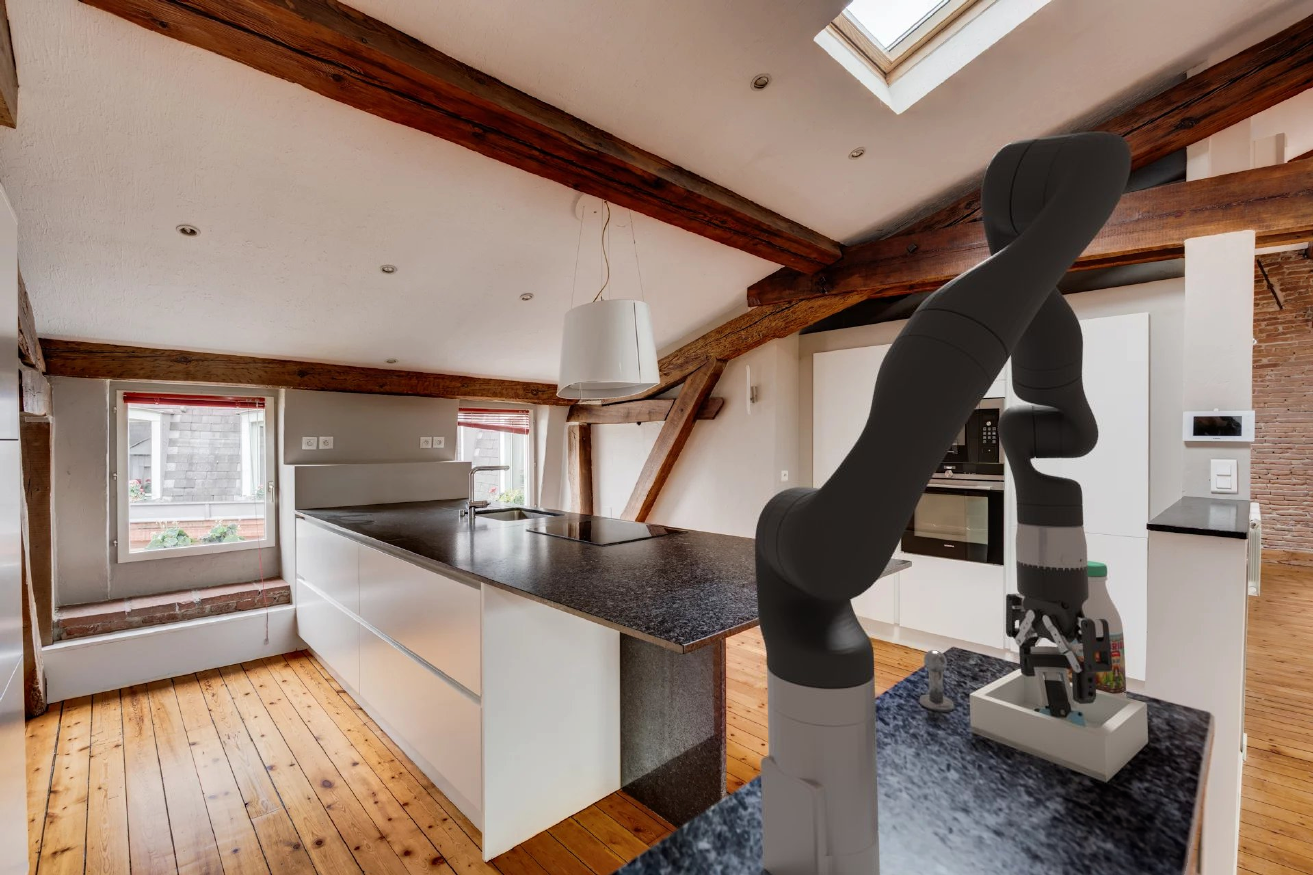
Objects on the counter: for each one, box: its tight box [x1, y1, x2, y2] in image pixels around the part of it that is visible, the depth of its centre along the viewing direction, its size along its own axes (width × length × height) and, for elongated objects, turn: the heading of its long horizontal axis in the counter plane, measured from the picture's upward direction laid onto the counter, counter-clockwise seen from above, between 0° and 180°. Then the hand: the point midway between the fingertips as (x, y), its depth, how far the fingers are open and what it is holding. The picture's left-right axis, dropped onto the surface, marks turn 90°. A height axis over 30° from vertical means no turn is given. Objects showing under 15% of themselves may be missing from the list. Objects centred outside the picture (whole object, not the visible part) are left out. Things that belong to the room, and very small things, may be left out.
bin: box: [969, 668, 1149, 784], centre depth 72 cm, size 14×14×5 cm
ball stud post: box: [919, 649, 955, 713], centre depth 82 cm, size 4×4×8 cm
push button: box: [1024, 645, 1094, 727], centre depth 72 cm, size 7×5×10 cm
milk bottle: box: [1056, 560, 1127, 698], centre depth 82 cm, size 8×8×20 cm
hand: (1055, 687), depth 73 cm, fingers open, 8 cm apart
